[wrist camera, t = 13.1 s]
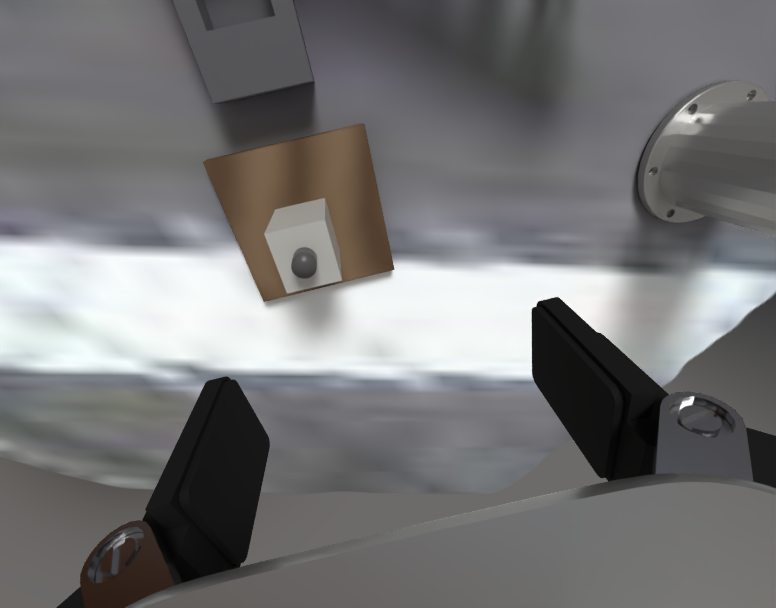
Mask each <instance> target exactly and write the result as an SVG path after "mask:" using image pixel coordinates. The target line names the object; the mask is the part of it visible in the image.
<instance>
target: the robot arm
mask: <svg viewBox="0 0 776 608" xmlns="http://www.w3.org/2000/svg"><path fill="white" fill-rule="evenodd" d="M638 191H639V196H640V199H641V201H642V203H643V206H644V207H645V208H646V209H647V211H648V212H649V213H651V214H652V215H654V216H655V217H657V218H659V219H662V220H665V221H668V222H674V223H683V222H690V221H694V220H698V219H700V218H702V217H705V216H708V217H712V218H715V219H718V220H721V221H724V222H728V223H731V224H734V225H737V226H741V227H744V228H747V229H750V230H754V231H757V232H760V233H763V234H767V235H770V236H773V237H776V101H770V100H769V98H768V96H767V94H766V93H765V92H764V91H763V90H762V89H761V88H760V87H759V86H757V85H755V84H753V83H750V82H745V81H724V82H719V83H715V84H711V85H709V86H706V87H704V88H702V89H700V90H698V91H696V92H695V93H693V94H691V95H690V96H688V97H687V98H685V99H684V100H683V101H682V102H681V103H679V104H678V105H677V106H676V107H675V108H674V109H673V110H672V111H671V112H670V113H669V114H668V115H667V116H666V117H665V119H664V120H663V121H662V122H661V123H660V125H659V126H658V128H657V129H656V131H655V132H654V134H653V135H652V137H651V139H650V141H649V143H648V145H647V147H646V149H645V151H644V154H643V157H642V160H641V163H640V168H639V173H638ZM532 375H533V379H534V381H535V383H536V385H537V387H538V388H539V389H540V391H541V392H542V394H543V395H544V397H545V398H546V400H547V401H548V403H549V404H550V406H551V407H552V409H553V410H554V412H555V413H556V415H557V416H558V418H559V419H560V421H561V422H562V424H563V425H564V426H565V428H566V429H567V431H568V432H569V434H570V435H571V437H572V438H573V440H574V441H575V443H576V444H577V446H578V447H579V449H580V450H581V452H582V453H583V454H584V456H585V458H586V459H587V460H588V462H589V463H590V465H591V466H592V468H593V469H594V471H595V472H596V474H597V475H598V476H599V477H600V478H606V479H607V480H608V482H605V483H600V484H595V485H590V486H585V487H581V488H576V489H571V490H566V491H562V492H557V493H552V494H548V495H543V496H539V497H535V498H530V499H526V500H521V501H517V502H513V503H509V504H504V505H500V506H495V507H491V508H487V509H483V510H478V511H474V512H469V513H465V514H460V515H456V516H452V517H448V518H443V519H439V520H435V521H430V522H427V523H422V524H417V525H413V526H409V527H405V528H400V529H396V530H392V531H388V532H384V533H379V534H375V535H371V536H367V537H362V538H358V539H354V540H350V541H345V542H341V543H338V544H333V545H329V546H324V547H320V548H316V549H312V550H308V551H304V552H300V553H296V554H291V555H287V556H283V557H279V558H275V559H270V560H266V561H263V562H259V563H254V564H250V565H246V566H243V567H240V564H241V563H243V562H244V561H245V559H246V557H247V554H248V549H249V544H250V540H251V535H252V530H253V525H254V520H255V515H256V510H257V506H258V501H259V496H260V491H261V486H262V481H263V477H264V472H265V467H266V462H267V457H268V452H269V447H270V442H269V437H268V435H267V433H266V431H265V430H264V428H263V426H262V424H261V423H260V421H259V419H258V418H257V416H256V414H255V412H254V411H253V409H252V407H251V405H250V404H249V402H248V400H247V398H246V397H245V395H244V393H243V391H242V390H241V388H240V386H239V384H238V383H237V381H236V380H231V379H230V378H229V377H222V378H218V379H213V380H209V381H207V382H206V383H205V385H204V387H203V389H202V391H201V394H200V396H199V398H198V400H197V402H196V404H195V406H194V408H193V410H192V412H191V415H190V417H189V419H188V421H187V423H186V425H185V427H184V429H183V431H182V433H181V436H180V438H179V440H178V442H177V444H176V446H175V448H174V450H173V452H172V454H171V456H170V459H169V461H168V463H167V465H166V467H165V469H164V471H163V473H162V475H161V477H160V480H159V482H158V484H157V486H156V488H155V490H154V492H153V494H152V497H151V498H150V501H149V503H148V505H147V507H146V513H145V516H144V518H143V520H142V521H141V520H137V521H131V522H128V523H126V524H124V525H121V526H120V527H118V528H117V529H115V530H114V531H112V532H110V533H109V534H108V535H107V536H106V537H105V538H104V539H103V540H101V541H100V542H99V544H98V545H97V546H96V547H95V548H94V549H93V551H92V552H91V553H90V555H89V557H88V558H87V560H86V561H85V563H84V566H83V568H82V571H81V574H80V586H81V587H80V588H79V589H77V590H76V591H75V592H74V593H73V594H72V595H70V596H69V597H68V598H67V599H66V600H65V601H64V602H63V603H61V604H60V605H59V606H58V607H57V608H776V436H774V435H771V434H767V433H763V432H760V431H757V430H753V429H749V428H746V426H745V423H744V421H743V418H742V417H741V416H740V415H739V414H738V413H737V411H736V410H735V409H733V408H732V407H730V406H729V405H728V404H726V403H724V402H722V401H720V400H718V399H716V398H714V397H711V396H708V395H704V394H701V393H694V392H676V393H674V394H670V395H669V394H668V393H666V392H665V391H664V390H663V389H662V388H661V387H660V386H659V385H658V384H657V383H656V382H654V381H653V380H652V379H651V378H650V377H649V376H648V375H647V374H646V373H645V372H643V371H642V370H641V369H640V368H639V367H638V366H637V365H636V364H635V363H634V362H632V361H631V360H630V359H629V358H628V357H627V356H626V355H625V354H624V353H623V352H621V351H620V350H619V349H618V348H617V347H616V346H615V345H614V344H613V343H612V342H610V341H609V340H608V339H607V338H606V337H605V336H604V335H602V334H601V333H598V332H596V331H595V330H594V329H592V328H591V327H590V326H589V325H588V324H587V323H586V322H585V321H584V320H583V319H582V318H581V317H579V316H578V315H577V314H576V313H575V312H574V311H573V310H572V309H571V308H570V307H569V306H568V305H566V304H565V303H564V302H563V301H562V300H561V299H560V298H558V297H555V298H551V299H547V300H543V301H539V302H538V303H537V307H534V308H532Z"/></svg>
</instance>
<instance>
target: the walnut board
mask: <svg viewBox="0 0 776 608" xmlns="http://www.w3.org/2000/svg"><path fill="white" fill-rule="evenodd" d="M203 164H204V166H205V168H206V170H207V173H208V175H209V177H210V180H211V182H212V184H213V186H214V189H215V191H216V193H217V196H218V198H219V200H220V202H221V205H222V207H223V209H224V212H225V214H226V216H227V218H228V221H229V223H230V225H231V228H232V230H233V232H234V234H235V237H236V239H237V241H238V244H239V246H240V248H241V251H242V253H243V255H244V257H245V260H246V262H247V264H248V267H249V269H250V271H251V273H252V276H253V278H254V280H255V283H256V285H257V287H258V289H259V292H260V294H261V296H262V299H263V301H264V302H265V301H269V300H273V299H277V298H281V297H285V296H289V295H293V294H297V293H301V292H306V291H310V290H314V289H318V288H322V287H326V286H330V285H334V284H338V283H342V282H346V281H350V280H354V279H358V278H363V277H367V276H371V275H375V274H379V273H383V272H387V271H391V270H394V265H393V261H392V256H391V251H390V246H389V241H388V236H387V232H386V227H385V222H384V217H383V212H382V208H381V203H380V198H379V193H378V188H377V183H376V179H375V174H374V169H373V164H372V159H371V154H370V150H369V145H368V140H367V135H366V130H365V126H364V124H358V125H354V126H350V127H345V128H341V129H337V130H332V131H328V132H324V133H320V134H315V135H311V136H307V137H302V138H298V139H294V140H290V141H285V142H281V143H277V144H272V145H268V146H264V147H259V148H255V149H251V150H247V151H242V152H238V153H234V154H229V155H225V156H221V157H216V158H212V159H208V160H206V161H204V162H203ZM322 198H325V200H326V203H327V207H328V210H329V214H330V218H331V221H332V225H333V228H334V232H335V236H336V239H337V243H338V247H339V250H340V261H341V273H342V281H338V282H334V283H330V284H326V285H321V286H317V287H313V288H309V289H305V290H300V291H296V292H292V293H288V294H287V292H286V290H285V287H284V285H283V282H282V279H281V277H280V274H279V271H278V269H277V266H276V264H275V261H274V258H273V256H272V253H271V251H270V248H269V245H268V243H267V240H266V238H265V235H264V233H265V231H266V229H267V227H268V224H269V222H270V220H271V218H272V216H273V213H274V211H275V209H279V208H284V207H287V206H292V205H296V204H300V203H305V202H309V201H313V200H318V199H322Z"/></svg>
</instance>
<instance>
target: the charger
mask: <svg viewBox="0 0 776 608" xmlns="http://www.w3.org/2000/svg"><path fill="white" fill-rule="evenodd" d="M264 235H265V238H266V240H267V243H268V245H269V248H270V251H271V253H272V256H273V258H274V261H275V264H276V266H277V269H278V271H279V274H280V277H281V279H282V282H283V285H284V287H285V290H286V292H287V294H288V293H292V292H296V291H300V290H305V289H309V288H313V287H317V286H321V285H326V284H330V283H334V282H338V281H342V273H341V261H340V250H339V247H338V243H337V239H336V236H335V232H334V228H333V225H332V221H331V218H330V214H329V210H328V207H327V203H326V200H325V198H322V199H318V200H313V201H309V202H305V203H300V204H296V205H292V206H287V207H284V208H279V209H275V211H274V213H273V216H272V218H271V220H270V222H269V224H268V227H267V229H266V231H265V233H264Z"/></svg>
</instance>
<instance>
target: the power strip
mask: <svg viewBox="0 0 776 608" xmlns="http://www.w3.org/2000/svg"><path fill="white" fill-rule="evenodd" d="M173 3H174V5H175V8H176V11H177V13H178V16H179V18H180V21H181V23H182V26H183V28H184V31H185V33H186V36H187V39H188V41H189V44H190V46H191V49H192V51H193V54H194V56H195V59H196V62H197V64H198V67H199V69H200V72H201V74H202V77H203V79H204V82H205V84H206V87H207V90H208V92H209V95H210V97H211V100H212V102H213V103H227V102H232V101H236V100H240V99H245V98H249V97H254V96H258V95H262V94H267V93H271V92H275V91H280V90H284V89H289V88H293V87H297V86H302V85H306V84H310V83H315V82H314V78H313V74H312V70H311V66H310V62H309V59H308V55H307V51H306V47H305V43H304V39H303V35H302V31H301V27H300V24H299V20H298V16H297V12H296V8H295V4H294V0H173Z"/></svg>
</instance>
